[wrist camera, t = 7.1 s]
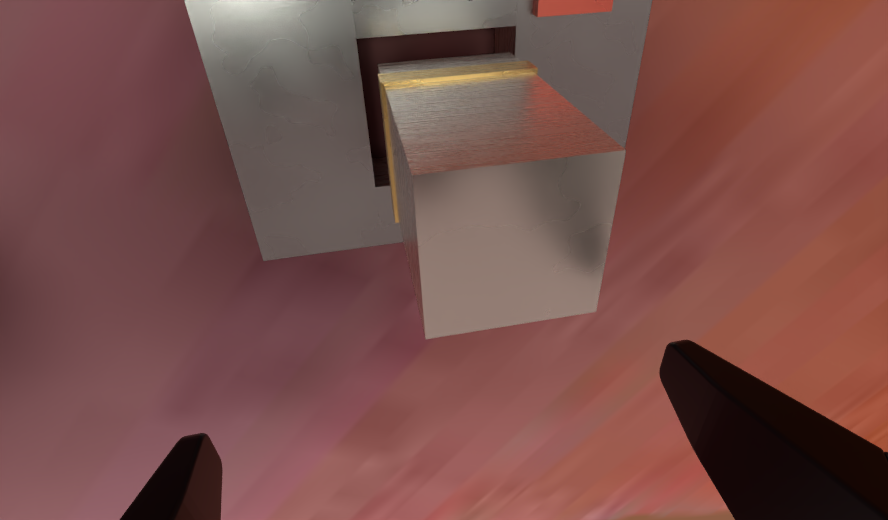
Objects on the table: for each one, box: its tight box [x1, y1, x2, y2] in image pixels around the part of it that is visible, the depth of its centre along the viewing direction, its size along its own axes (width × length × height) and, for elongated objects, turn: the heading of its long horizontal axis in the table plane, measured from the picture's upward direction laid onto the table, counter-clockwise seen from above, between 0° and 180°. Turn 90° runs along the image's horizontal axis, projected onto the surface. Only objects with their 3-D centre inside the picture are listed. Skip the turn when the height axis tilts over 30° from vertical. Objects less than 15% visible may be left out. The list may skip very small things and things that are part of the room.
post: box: [378, 52, 626, 339], centre depth 13 cm, size 4×4×7 cm
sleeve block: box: [184, 0, 652, 261], centre depth 18 cm, size 14×10×3 cm
